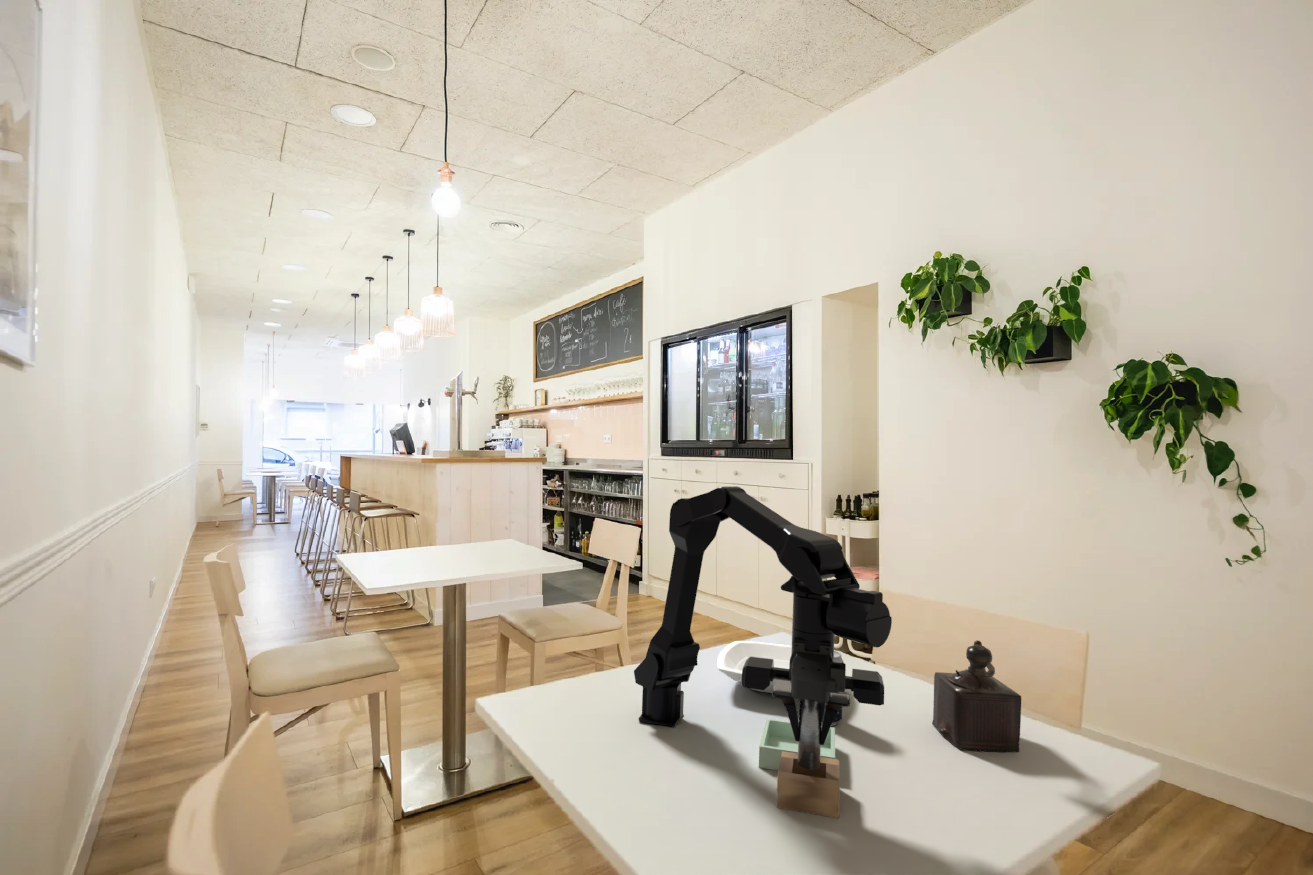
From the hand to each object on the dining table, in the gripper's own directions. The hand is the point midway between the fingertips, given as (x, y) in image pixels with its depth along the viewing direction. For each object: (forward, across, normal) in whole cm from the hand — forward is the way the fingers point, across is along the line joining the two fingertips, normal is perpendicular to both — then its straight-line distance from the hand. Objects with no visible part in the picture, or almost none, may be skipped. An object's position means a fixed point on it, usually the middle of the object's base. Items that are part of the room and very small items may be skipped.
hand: (809, 742), depth 90 cm
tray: (+8, -2, +12) cm, 14 cm away
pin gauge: (+3, 0, 0) cm, 3 cm away
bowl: (+8, -8, +42) cm, 43 cm away
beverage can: (+8, +2, +28) cm, 29 cm away
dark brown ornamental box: (+8, +27, +27) cm, 39 cm away
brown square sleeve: (+8, 0, 0) cm, 8 cm away
